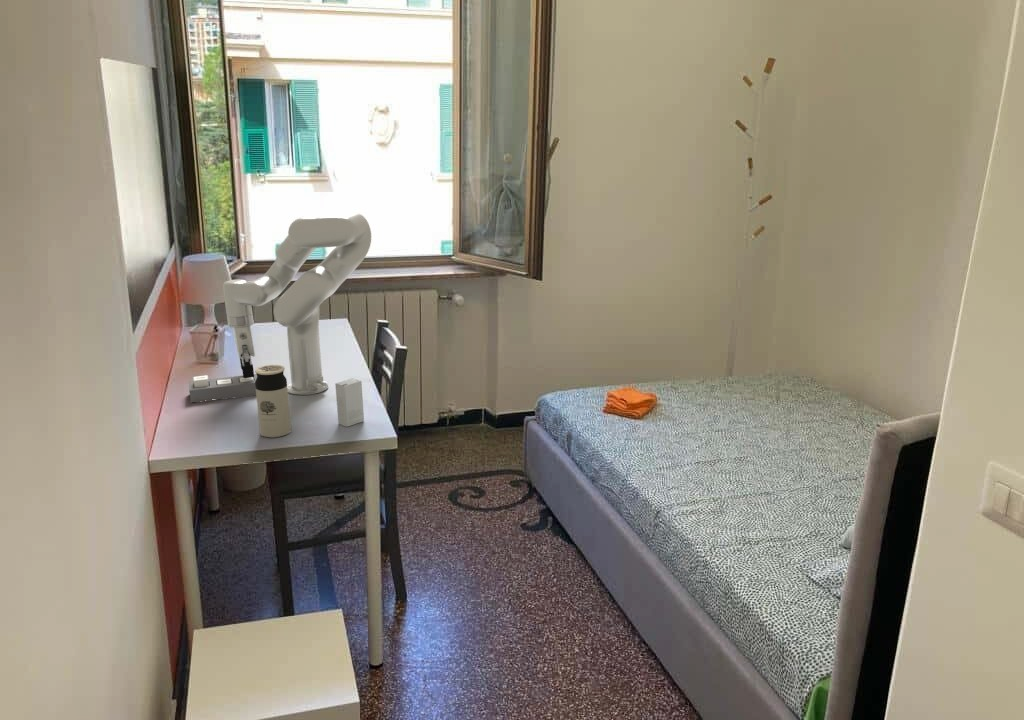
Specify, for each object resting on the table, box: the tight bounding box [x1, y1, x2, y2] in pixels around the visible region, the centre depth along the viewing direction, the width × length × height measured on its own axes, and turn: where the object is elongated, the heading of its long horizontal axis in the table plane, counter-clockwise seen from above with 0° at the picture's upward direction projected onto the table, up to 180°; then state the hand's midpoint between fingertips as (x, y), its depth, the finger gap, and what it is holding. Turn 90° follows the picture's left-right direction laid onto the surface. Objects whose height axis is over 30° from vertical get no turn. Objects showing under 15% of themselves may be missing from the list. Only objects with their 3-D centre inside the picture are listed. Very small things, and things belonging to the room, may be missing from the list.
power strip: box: [188, 373, 257, 403], centre depth 238 cm, size 21×9×4 cm, turn 112°
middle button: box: [217, 379, 232, 385], centre depth 238 cm, size 4×4×3 cm
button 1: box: [193, 374, 209, 388], centre depth 235 cm, size 4×4×3 cm
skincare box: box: [335, 377, 365, 428], centre depth 214 cm, size 6×4×12 cm
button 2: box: [239, 377, 254, 382], centre depth 240 cm, size 4×4×3 cm
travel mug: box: [254, 364, 292, 439], centre depth 206 cm, size 8×8×18 cm
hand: (247, 373), depth 244 cm, fingers open, 9 cm apart
